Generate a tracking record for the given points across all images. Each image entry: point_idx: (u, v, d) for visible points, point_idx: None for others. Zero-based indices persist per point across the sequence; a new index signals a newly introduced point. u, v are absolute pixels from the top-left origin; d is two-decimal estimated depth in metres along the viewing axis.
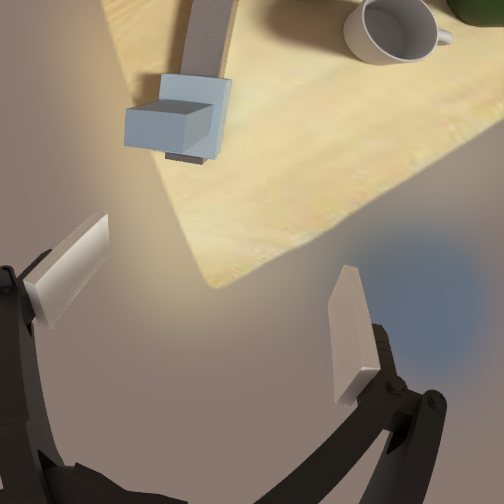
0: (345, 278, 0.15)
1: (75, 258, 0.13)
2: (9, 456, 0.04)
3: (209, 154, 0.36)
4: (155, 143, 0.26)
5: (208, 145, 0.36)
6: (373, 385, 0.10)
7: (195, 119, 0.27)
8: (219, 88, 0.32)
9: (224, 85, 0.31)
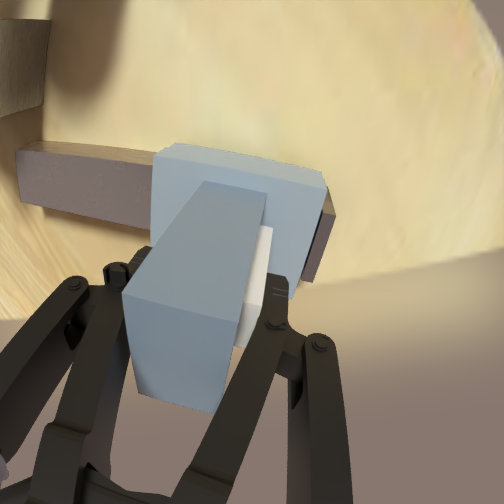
0: None
1: None
2: (52, 459, 0.05)
3: (314, 198, 0.17)
4: (211, 370, 0.10)
5: (293, 198, 0.17)
6: None
7: (179, 245, 0.11)
8: (171, 169, 0.17)
9: (164, 159, 0.17)
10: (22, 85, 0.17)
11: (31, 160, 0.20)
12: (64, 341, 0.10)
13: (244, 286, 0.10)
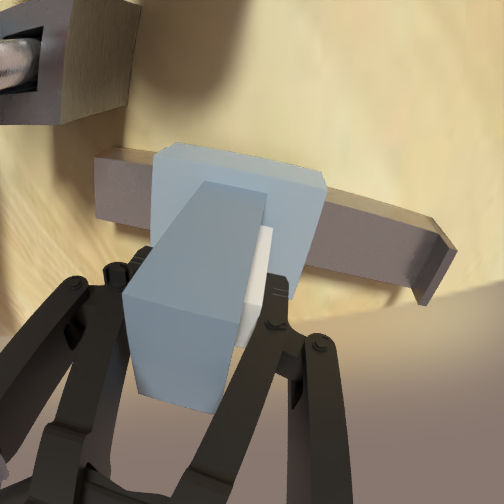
0: None
1: None
2: (52, 459, 0.05)
3: (314, 198, 0.17)
4: (212, 371, 0.10)
5: (294, 198, 0.17)
6: None
7: (180, 246, 0.11)
8: (171, 169, 0.17)
9: (165, 159, 0.17)
10: (110, 79, 0.16)
11: (118, 171, 0.20)
12: (64, 341, 0.10)
13: (244, 287, 0.10)
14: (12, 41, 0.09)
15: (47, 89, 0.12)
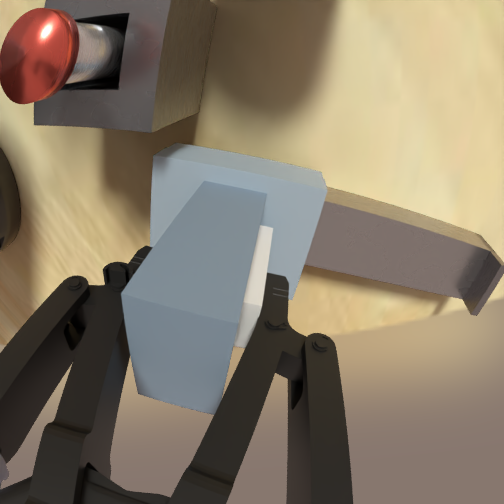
0: None
1: None
2: (52, 459, 0.05)
3: (314, 198, 0.17)
4: (211, 371, 0.10)
5: (294, 198, 0.17)
6: None
7: (179, 246, 0.11)
8: (171, 169, 0.17)
9: (164, 159, 0.17)
10: (190, 84, 0.16)
11: None
12: (64, 341, 0.10)
13: (244, 287, 0.10)
14: (90, 25, 0.09)
15: (134, 89, 0.12)
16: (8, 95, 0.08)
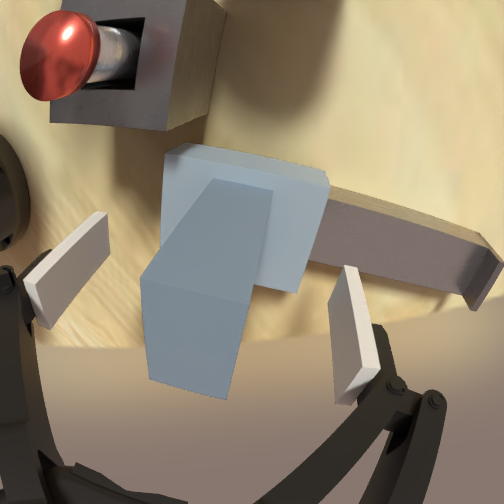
0: (345, 278, 0.15)
1: (75, 258, 0.13)
2: (9, 456, 0.04)
3: (318, 195, 0.18)
4: (222, 353, 0.11)
5: (298, 195, 0.18)
6: (373, 385, 0.10)
7: (192, 236, 0.12)
8: (181, 166, 0.18)
9: (175, 157, 0.18)
10: (201, 86, 0.17)
11: None
12: None
13: (254, 273, 0.11)
14: (108, 28, 0.10)
15: (150, 89, 0.13)
16: (29, 92, 0.09)
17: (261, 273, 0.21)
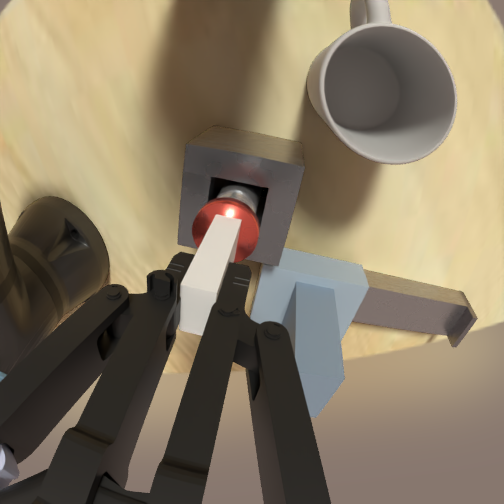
0: (225, 227, 0.17)
1: None
2: (68, 465, 0.05)
3: (361, 291, 0.28)
4: (323, 397, 0.21)
5: (349, 291, 0.28)
6: None
7: (306, 339, 0.22)
8: (275, 273, 0.28)
9: (271, 268, 0.27)
10: None
11: None
12: (95, 351, 0.10)
13: (342, 360, 0.21)
14: (247, 198, 0.20)
15: (269, 240, 0.23)
16: None
17: None
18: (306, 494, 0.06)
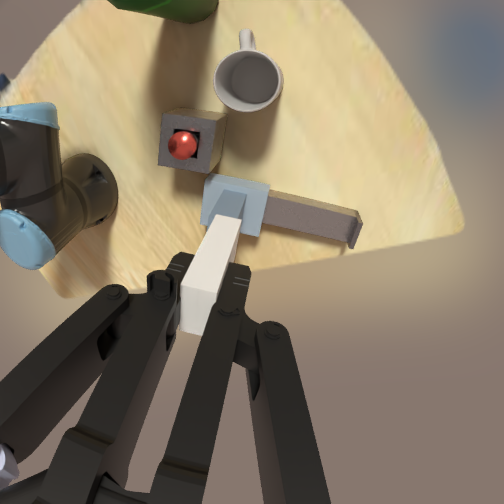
0: (225, 227, 0.17)
1: None
2: (68, 465, 0.05)
3: (263, 195, 0.47)
4: None
5: (256, 195, 0.48)
6: None
7: (220, 208, 0.42)
8: (211, 184, 0.47)
9: (209, 181, 0.47)
10: (218, 151, 0.47)
11: None
12: (96, 352, 0.10)
13: (237, 216, 0.41)
14: (194, 133, 0.42)
15: (202, 159, 0.43)
16: (172, 155, 0.41)
17: (243, 227, 0.51)
18: (306, 494, 0.06)
